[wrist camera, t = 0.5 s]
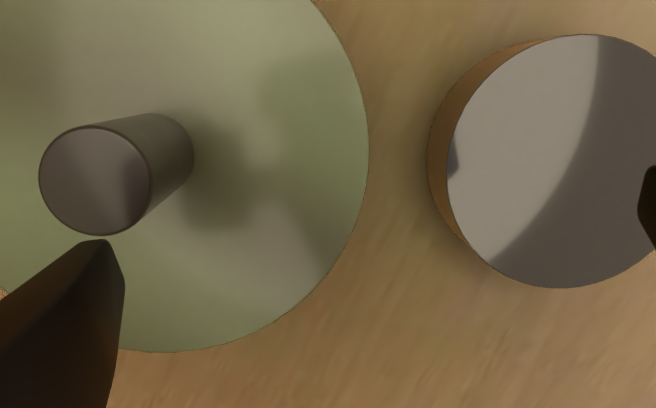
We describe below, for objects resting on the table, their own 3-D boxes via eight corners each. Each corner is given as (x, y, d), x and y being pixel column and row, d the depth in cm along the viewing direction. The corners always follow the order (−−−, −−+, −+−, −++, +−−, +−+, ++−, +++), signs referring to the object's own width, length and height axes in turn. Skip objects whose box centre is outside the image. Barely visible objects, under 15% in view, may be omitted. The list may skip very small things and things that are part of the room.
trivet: (548, 300, 26) (584, 333, 23) (381, 183, 25) (394, 199, 21) (689, 129, 25) (751, 136, 21) (521, -8, 23) (560, -25, 20)
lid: (287, 383, 21) (280, 508, 15) (-88, 267, 19) (-270, 353, 13) (427, 25, 18) (489, -4, 12) (6, -144, 16) (-167, -277, 10)
